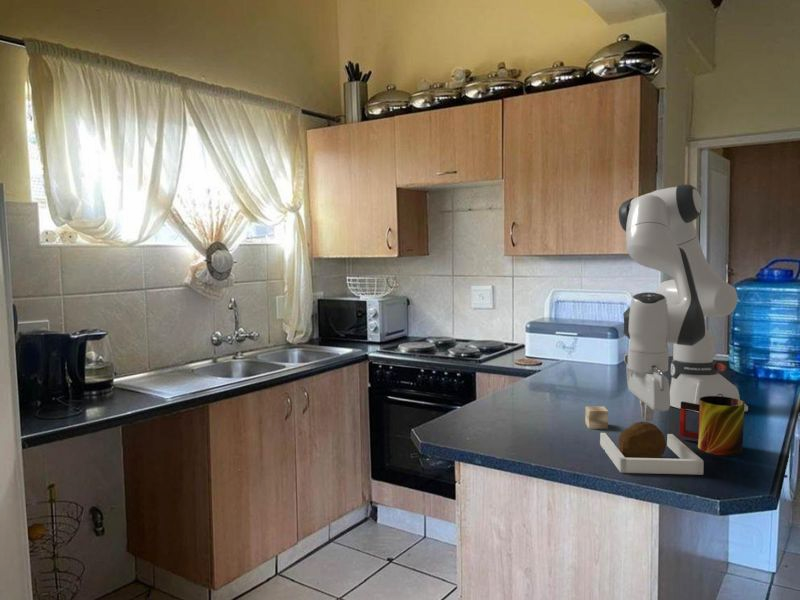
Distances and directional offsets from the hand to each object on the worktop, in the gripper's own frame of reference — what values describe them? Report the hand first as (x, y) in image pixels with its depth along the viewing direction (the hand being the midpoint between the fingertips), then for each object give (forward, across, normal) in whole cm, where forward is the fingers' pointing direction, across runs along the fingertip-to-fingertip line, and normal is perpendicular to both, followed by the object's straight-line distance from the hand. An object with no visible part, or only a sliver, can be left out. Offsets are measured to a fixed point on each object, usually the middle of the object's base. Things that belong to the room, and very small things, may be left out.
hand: (647, 419), depth 146 cm
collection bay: (+8, -3, +1) cm, 9 cm away
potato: (+8, -5, +3) cm, 10 cm away
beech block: (+8, +22, +7) cm, 24 cm away
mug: (+9, +4, -16) cm, 19 cm away
